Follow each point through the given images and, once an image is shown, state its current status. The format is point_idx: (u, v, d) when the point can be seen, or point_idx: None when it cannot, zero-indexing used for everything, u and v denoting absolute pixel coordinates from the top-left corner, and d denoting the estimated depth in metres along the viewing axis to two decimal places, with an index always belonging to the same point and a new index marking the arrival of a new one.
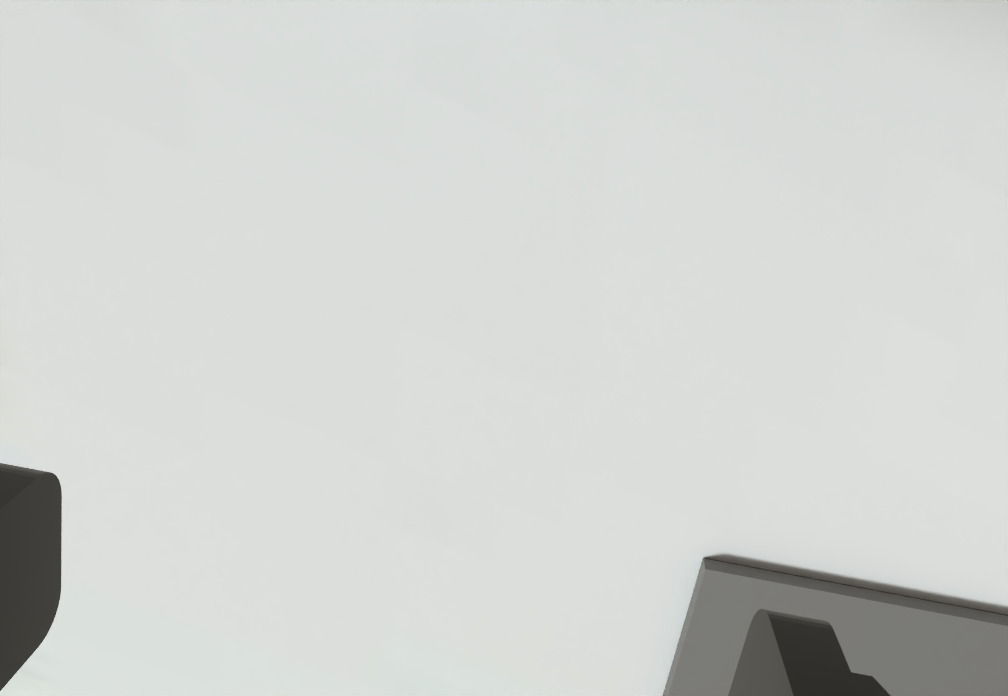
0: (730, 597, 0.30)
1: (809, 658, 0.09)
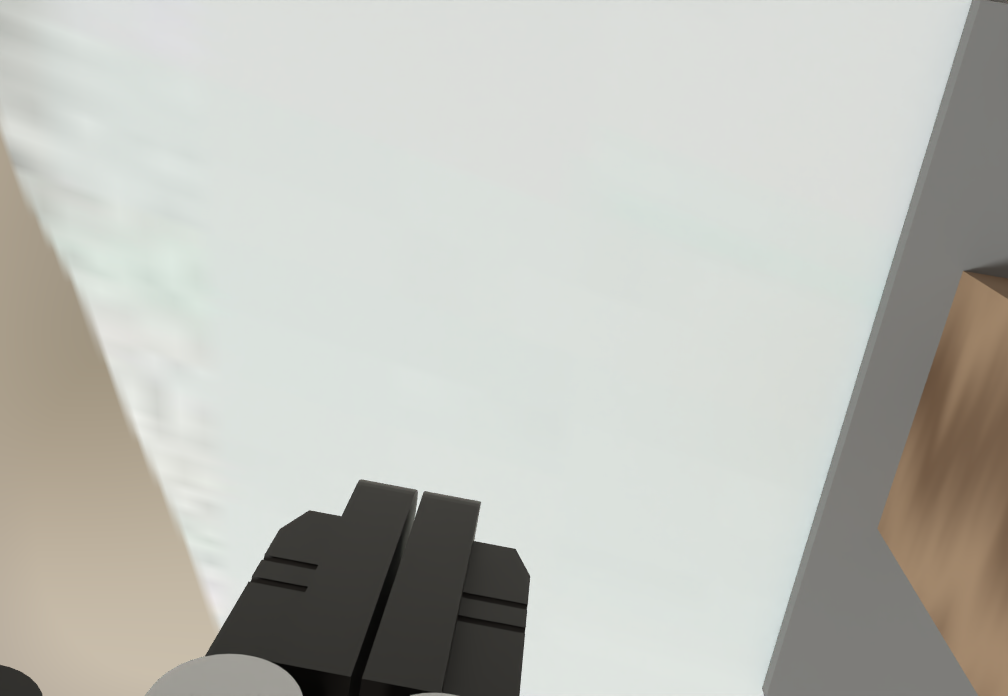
0: (1007, 37, 0.26)
1: (439, 526, 0.10)
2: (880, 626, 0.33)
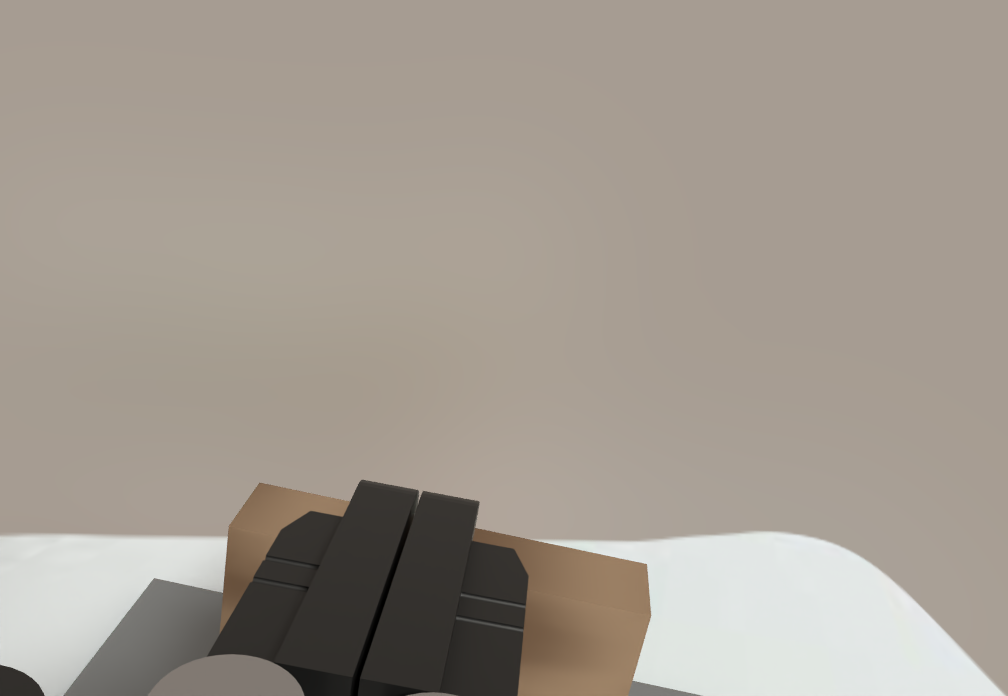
0: None
1: (438, 526, 0.10)
2: None
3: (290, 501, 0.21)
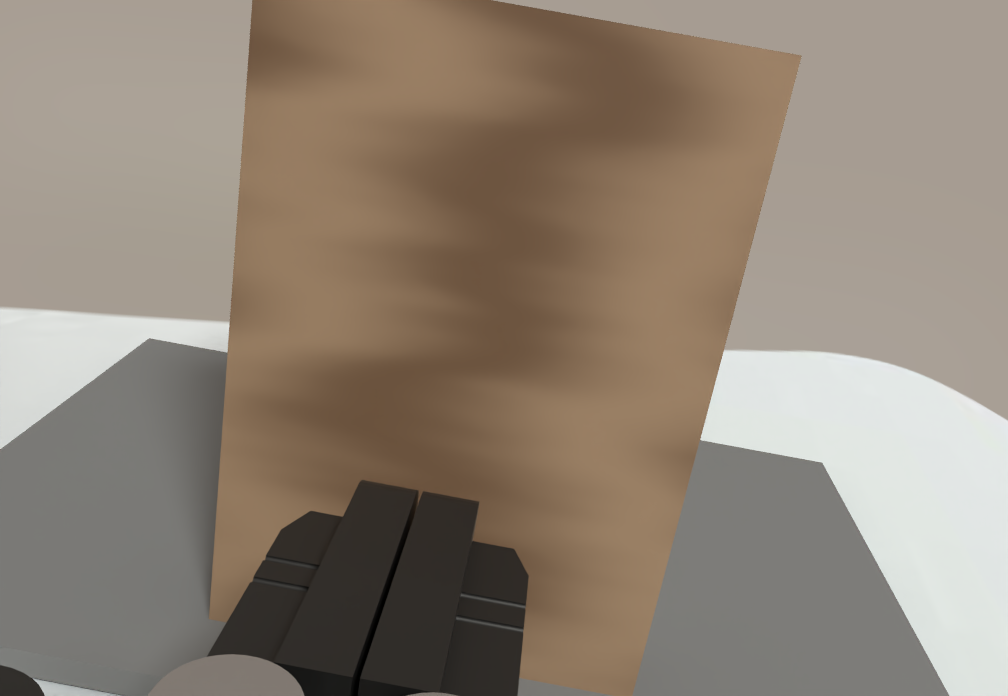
0: None
1: (438, 526, 0.10)
2: (793, 693, 0.21)
3: None
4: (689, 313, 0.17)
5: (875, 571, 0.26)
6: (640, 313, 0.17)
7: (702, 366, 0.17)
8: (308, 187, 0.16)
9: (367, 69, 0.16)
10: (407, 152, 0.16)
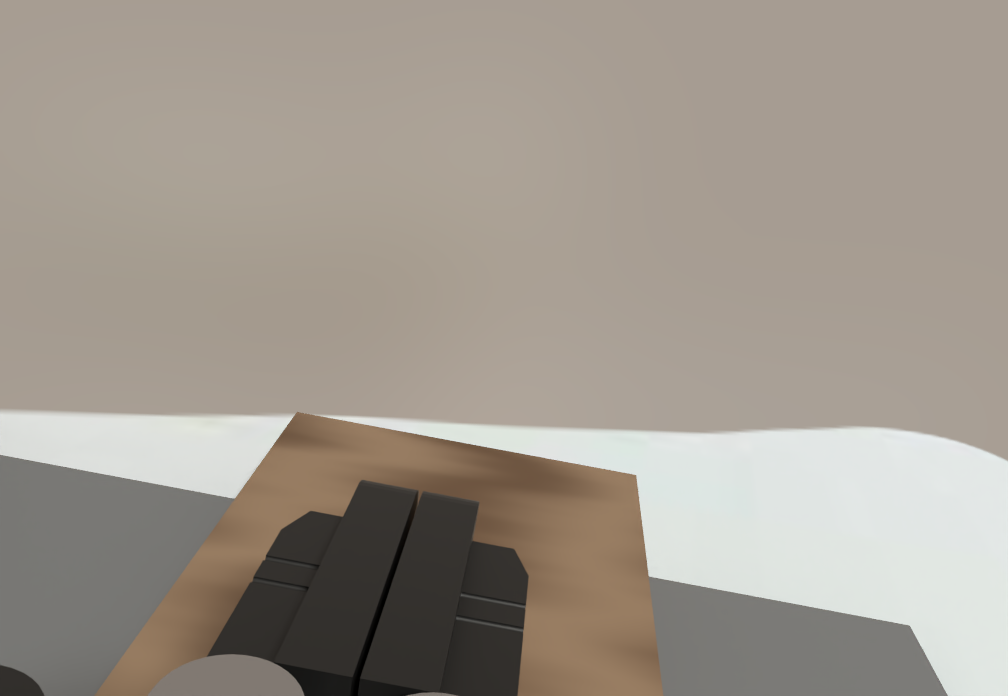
0: None
1: (438, 526, 0.10)
2: None
3: None
4: (613, 566, 0.20)
5: None
6: (574, 563, 0.20)
7: (637, 596, 0.19)
8: (305, 484, 0.21)
9: (361, 449, 0.23)
10: (385, 479, 0.22)
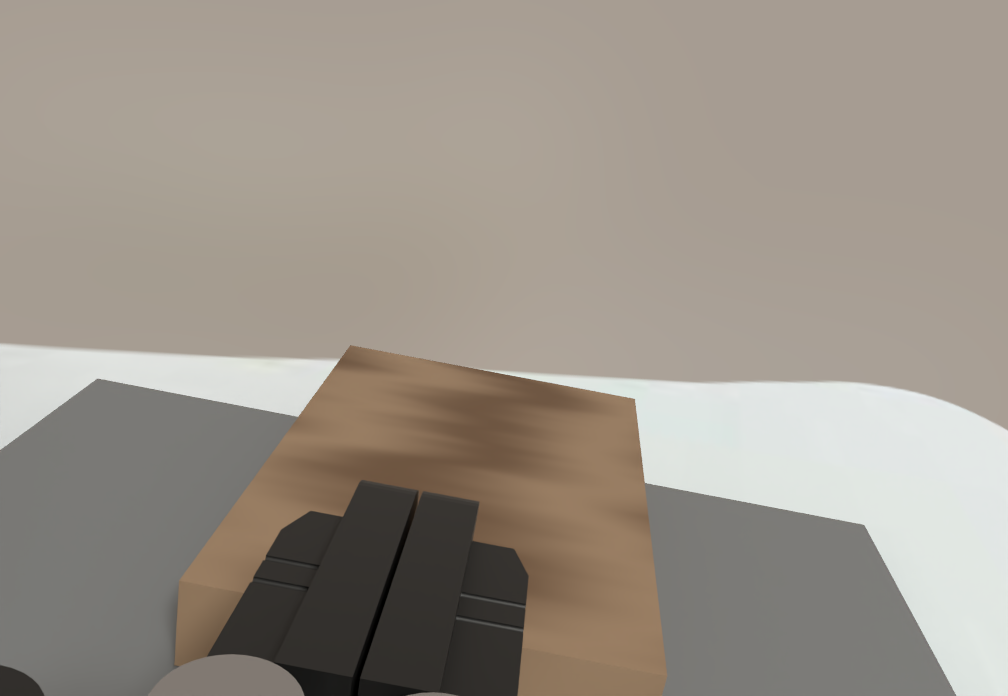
0: None
1: (438, 526, 0.10)
2: None
3: None
4: (614, 460, 0.25)
5: (936, 672, 0.22)
6: (582, 456, 0.25)
7: (633, 480, 0.24)
8: (362, 396, 0.26)
9: (405, 373, 0.28)
10: (426, 394, 0.27)
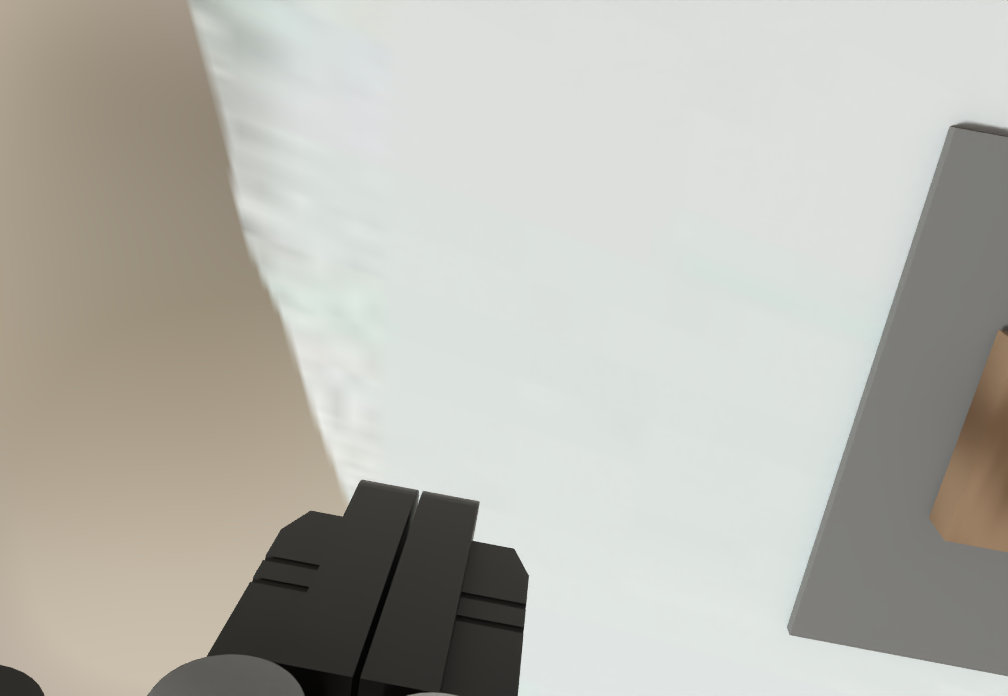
0: (974, 154, 0.37)
1: (438, 526, 0.10)
2: (878, 579, 0.43)
3: None
4: None
5: (981, 667, 0.44)
6: None
7: None
8: None
9: None
10: None
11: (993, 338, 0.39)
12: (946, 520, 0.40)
